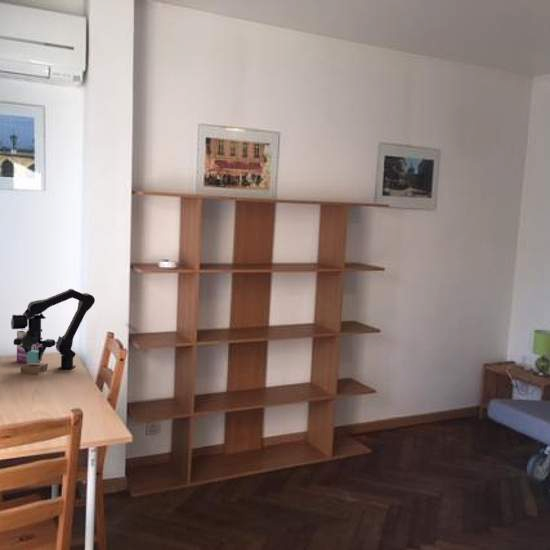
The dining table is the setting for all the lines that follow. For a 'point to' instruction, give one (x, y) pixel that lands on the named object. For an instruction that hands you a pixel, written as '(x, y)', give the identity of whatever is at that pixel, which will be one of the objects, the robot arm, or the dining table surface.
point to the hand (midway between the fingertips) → (34, 359)
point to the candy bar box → (20, 351)
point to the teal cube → (33, 356)
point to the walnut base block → (34, 368)
